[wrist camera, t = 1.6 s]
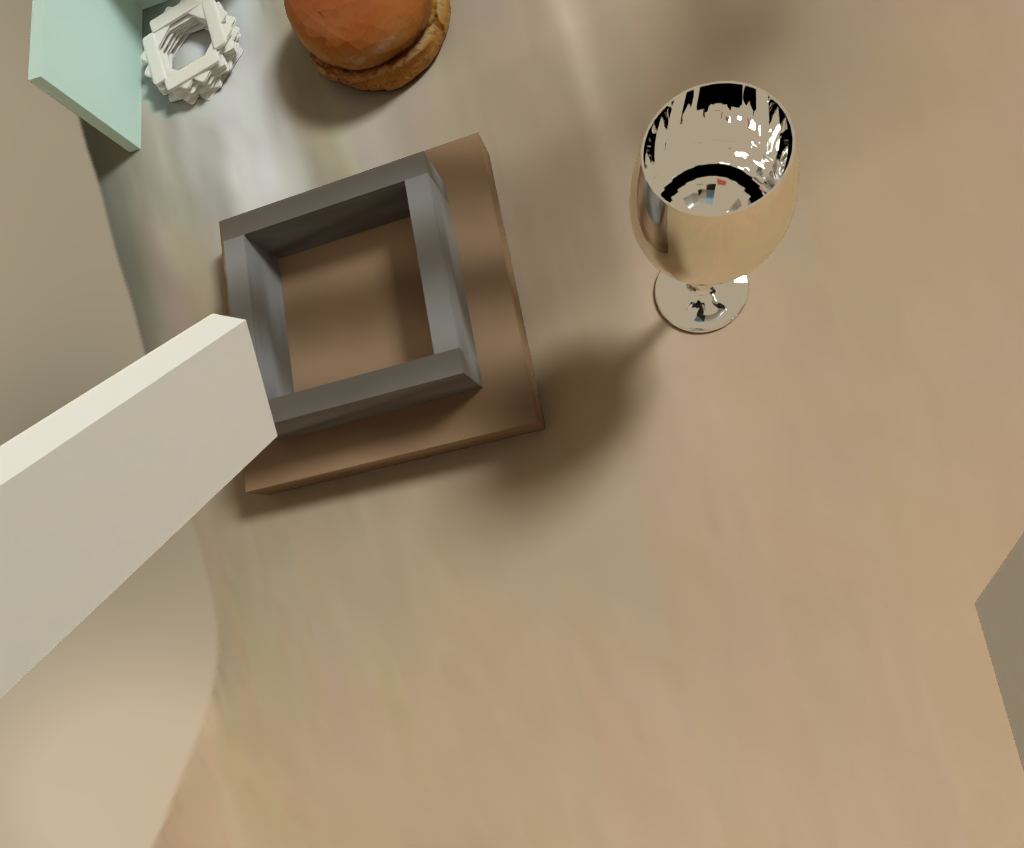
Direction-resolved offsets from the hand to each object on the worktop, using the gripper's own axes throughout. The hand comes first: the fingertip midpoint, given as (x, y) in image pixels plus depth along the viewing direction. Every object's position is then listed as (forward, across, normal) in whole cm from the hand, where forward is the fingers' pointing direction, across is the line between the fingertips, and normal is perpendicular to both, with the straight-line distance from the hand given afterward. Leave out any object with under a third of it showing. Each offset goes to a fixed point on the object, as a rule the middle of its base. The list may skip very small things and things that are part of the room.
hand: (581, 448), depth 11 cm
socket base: (+19, -16, -10) cm, 27 cm away
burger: (+32, -21, +3) cm, 39 cm away
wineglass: (+22, +1, -7) cm, 23 cm away
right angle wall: (+31, -34, +1) cm, 46 cm away
